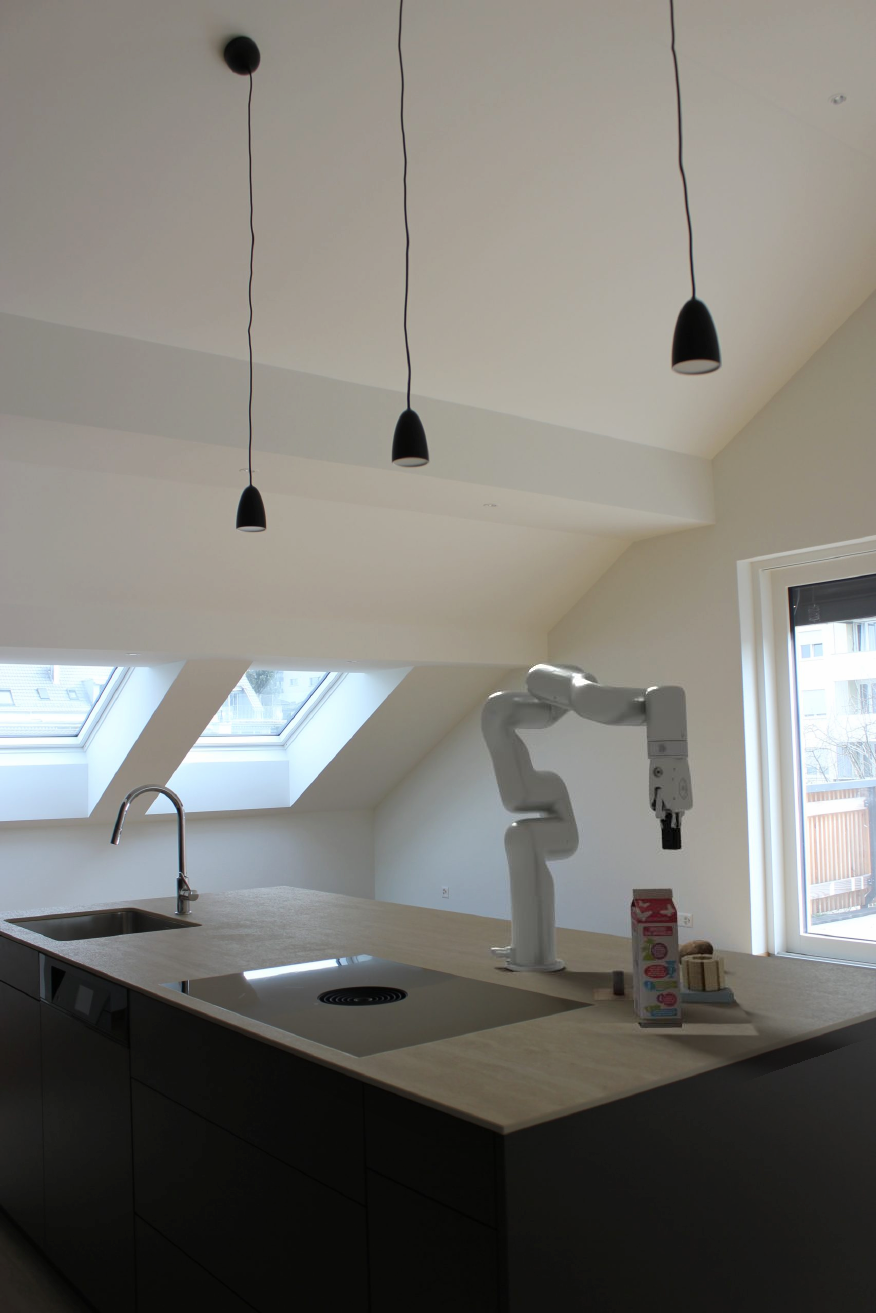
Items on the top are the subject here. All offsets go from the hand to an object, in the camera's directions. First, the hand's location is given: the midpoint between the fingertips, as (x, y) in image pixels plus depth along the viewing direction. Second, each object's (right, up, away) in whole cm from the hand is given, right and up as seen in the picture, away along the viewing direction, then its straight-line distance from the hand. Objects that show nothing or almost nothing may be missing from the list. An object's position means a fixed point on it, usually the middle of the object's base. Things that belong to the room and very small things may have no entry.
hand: (671, 849), depth 189 cm
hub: (+4, -26, -8) cm, 28 cm away
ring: (+4, -23, -8) cm, 25 cm away
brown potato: (+11, -30, +24) cm, 40 cm away
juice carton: (-7, -25, -20) cm, 33 cm away
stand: (-11, -27, -6) cm, 30 cm away
